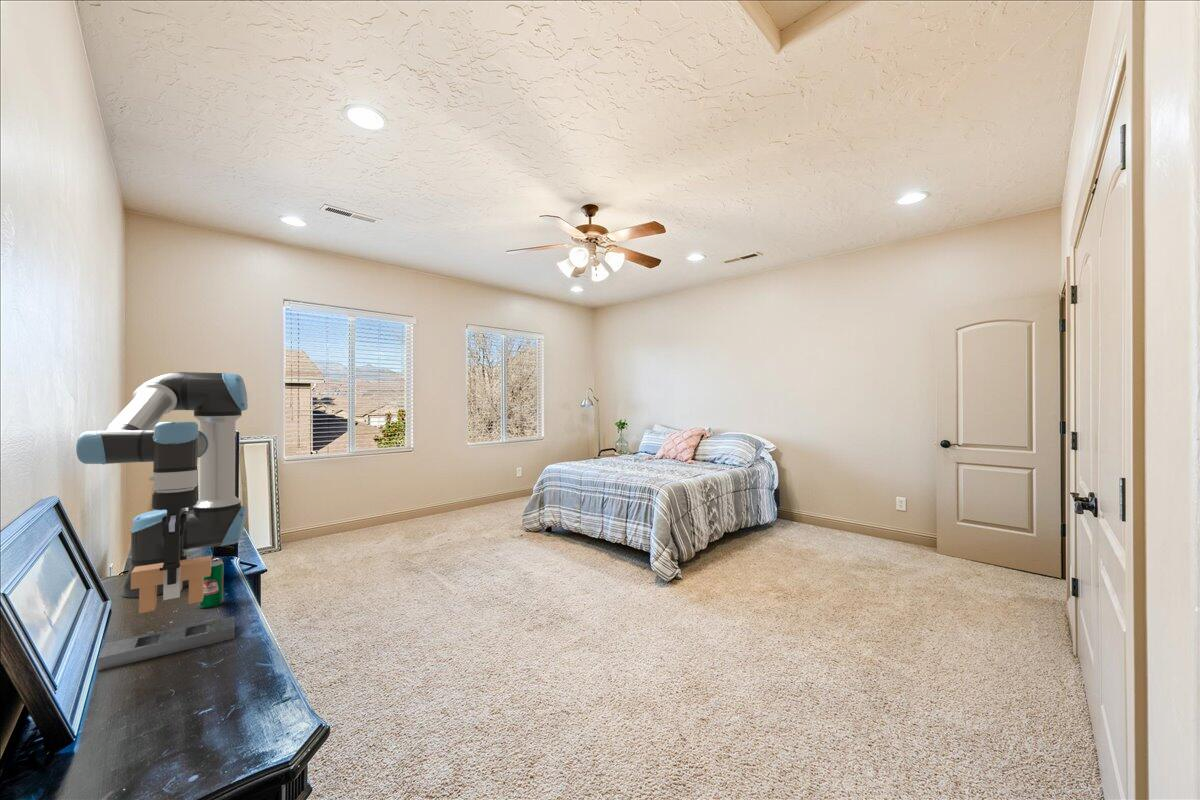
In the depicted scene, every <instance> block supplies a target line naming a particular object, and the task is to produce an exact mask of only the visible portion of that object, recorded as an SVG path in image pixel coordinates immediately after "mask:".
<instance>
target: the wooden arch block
mask: <svg viewBox="0 0 1200 800" xmlns="http://www.w3.org/2000/svg"><path fill="white" fill-rule="evenodd" d="M211 559H212V555H207V556H202V557H195V558H187V559H185V560H180V567H181V578H180V581H185V580H189V585H188V603H187V604H188V605H190V604H196V603H197V604H198V603H199V602H202V601H203V590H204V577H209V576H210V575H211ZM169 563H170V562H169ZM163 565H164V563H158V564H152V565H145V566H138V567H135V568H134V569H133V570H132V572H131V589H136V588H139V597H138V614H143V613H148V612H154V611H155V610H156V607H157V604H158V603H157V601H158V600H157V598H158V595H157V585H161V584H164V570H163V571H160V568H163Z"/></svg>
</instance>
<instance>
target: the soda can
mask: <svg viewBox="0 0 1200 800" xmlns="http://www.w3.org/2000/svg"><path fill="white" fill-rule="evenodd" d="M224 571H225V570H224V562H223V559H222V558H218V557H216V558H215V557H214V558H211V575H210V576H209V577H204V590H203V601H202V602H198V607H200V608H201V609H210V608H215V607H217V606H219V605H221V604H222V603H223V602H224Z"/></svg>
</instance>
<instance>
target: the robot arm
mask: <svg viewBox="0 0 1200 800" xmlns="http://www.w3.org/2000/svg"><path fill="white" fill-rule="evenodd" d="M248 406H249V405H248V393H247V387H246V383H245V381H244V379H243V377H242V376H241V375H239V374H236V373H229V372H194V371H193V372H192V371H190V372H189V371H176V372H169V373H165V374H162V375H159V376H155V377H154V378H152V379H149V380H146V381H145V382H143V383H142V384H140V385H139V386H138V387H137V388H136V389H135V390H134V391H133V393H132V395H131V401H130V402H129V403H128V404H127V405H126V406H125V407H124V409H122V411H121V412H119V413H118V415H117V416H116V417H115V418H113V420H112V421H111V422H110V424H108V425H107V426H106V428H104V429H103V430H100V429H97V430H91V431H89V430H87V431H84V432H82V433H81V434H80V435H79V436H78V439H77V441H76V445H75V446H76V447H75V452H76V457H77V459H78V461H79V462H81V463H82V464H85V465H108V464H126V463H128V464H129V463H130V464H131V463H152V462H153V467H152V468H153V471H152V472H153V476H149V478H148V480H149V482H153V483H152V490H154V492H153V493H152V498H151V502H152V503H151V508H152V509H153V510H150V511H146V512H143V513H140V514H138V515H136V516H134V517H133V519H132V524H131V525H132V526H131V531H130V534H131V537H130V538H131V539H130V545H131V546H130V568H129V570H128V573H127V575H126V577H125V579H124V581H123V584H122V586H121V596H122V597H125V598H135V599H136V598H139V588H136V589H131V572H132V570H133V569H134V568H135V567H138V566H145V565H152V564H158V563H164V565H163V568H160V571H163V570H164V584H161V585H157V596H158V595H163V596H162V601H167V600H174V599H178V598H181V591H182V590H183V588H185V587H187V586H189V580H185V581H180V578H181V567H180V560H186V559H188V558H187V557H188V556H187V555H185V550H196V549H203V548H204V549H205V548H212V547H223V546H228V545H234V544H237V543H239V541H240V540H241V538H242V536H243V533H244V529H245V524H246V520H247V512H248V511H247V509H248V507H247V506H246V505H242V500H241V499H240V498H238V497H237V496H236V422H237V420H239V419H240V418H241V417H242V413H243V412H245V411H246V410H247V409H248V408H249V407H248ZM172 411H193V417H194V418H195V419H196V420H197V421H199V422H200V423H199V424H200V426H199V425H198V423H197V422H196V421H161V420H162V418H163V417H164V415H166V414H169V413H170V412H172ZM199 429H200V430H199ZM198 459H199V466H200V467H199V469H198ZM198 478H199V479H198ZM198 483H199V485H198ZM197 486H199V499H198V490H197V489H196V487H197ZM155 491H156V492H155ZM187 508H193V509H191V510H187ZM169 562H170V563H169Z"/></svg>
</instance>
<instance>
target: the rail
mask: <svg viewBox="0 0 1200 800" xmlns="http://www.w3.org/2000/svg"><path fill="white" fill-rule="evenodd" d="M235 631H236V617H235V615H233V616H228V617H223V618H218V619H214V620H213V619H212V620H209V621H203V622H199V623H195V624H190V625H186V626H185V625H184V626H180V627H175V628H171V629H167V630H162V631H161V630H160V631H156V632H152V633H148V634H142V635H138V636H133V637H128V638H125V639H124V638H123V639H118V640H115V641H110V642H106V643H105V644H104V646H103V648H102V650H101V651H100V653H99V655H98V657H97V668H96V669H97V672H99V671H102V670H107V669H111V668H115V667H119V666H123V665H128V664H132V663H136V662H140V661H141V662H142V661H144V660H149V659H153V658H157V657H162V656H165V655H171V654H174V653H179V652H183V651H187V650H192V649H197V648H200V647H204V646H209V645H212V644H217V643H221V642H225V640H226V641H230V640H233V639H235V638H236V637H235V635H236V633H235Z"/></svg>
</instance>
